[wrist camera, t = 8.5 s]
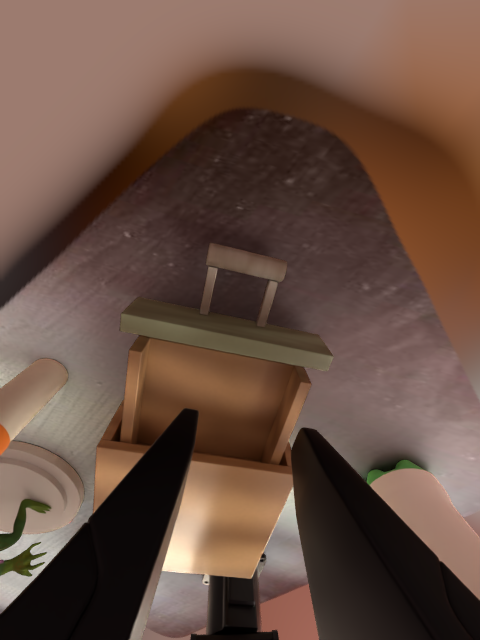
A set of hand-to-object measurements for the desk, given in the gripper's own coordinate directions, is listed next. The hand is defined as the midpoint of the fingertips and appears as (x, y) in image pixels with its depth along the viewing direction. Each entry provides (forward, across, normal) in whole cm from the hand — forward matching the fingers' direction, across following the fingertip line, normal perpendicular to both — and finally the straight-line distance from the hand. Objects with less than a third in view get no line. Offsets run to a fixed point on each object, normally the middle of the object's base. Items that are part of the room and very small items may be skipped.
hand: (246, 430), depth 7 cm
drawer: (+12, 0, +6) cm, 13 cm away
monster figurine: (+13, +16, +24) cm, 31 cm away
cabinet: (+13, 0, +18) cm, 22 cm away
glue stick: (+13, +13, +10) cm, 21 cm away
